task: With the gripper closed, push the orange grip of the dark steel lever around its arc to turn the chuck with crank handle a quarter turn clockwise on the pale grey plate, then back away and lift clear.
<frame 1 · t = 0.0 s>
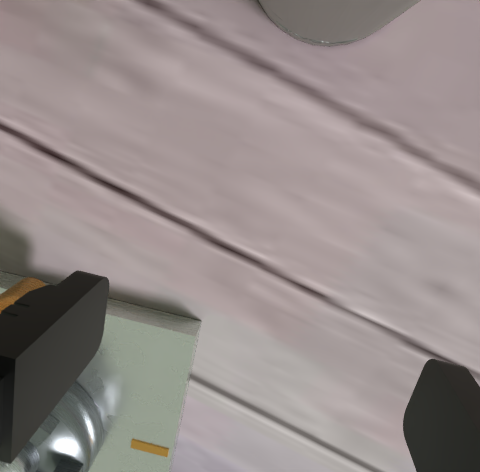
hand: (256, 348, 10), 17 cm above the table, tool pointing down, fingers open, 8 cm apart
base plate: (51, 400, 34), on the table
chuck with crank handle: (3, 421, 27), point 6 cm above the table, hinge at 0.0°
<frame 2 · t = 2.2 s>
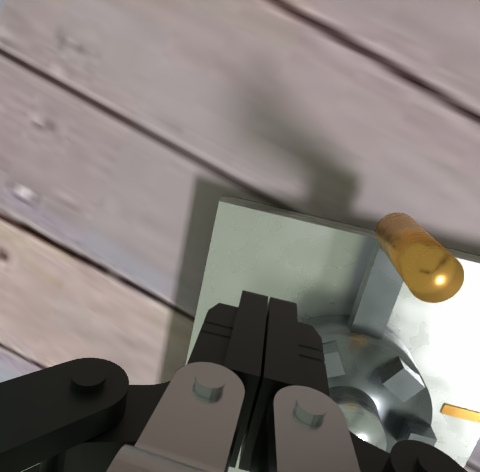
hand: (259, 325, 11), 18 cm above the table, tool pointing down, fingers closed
base plate: (333, 364, 32), on the table
chuck with crank handle: (363, 373, 24), point 6 cm above the table, hinge at 0.0°
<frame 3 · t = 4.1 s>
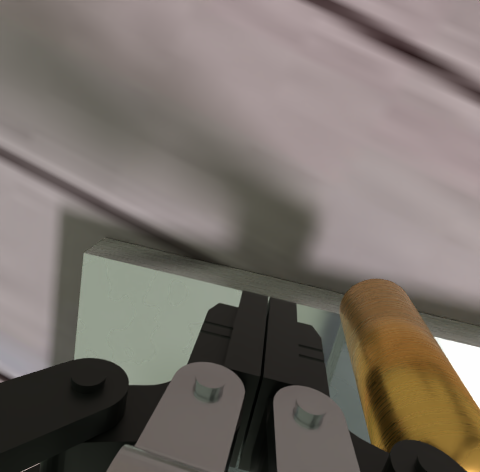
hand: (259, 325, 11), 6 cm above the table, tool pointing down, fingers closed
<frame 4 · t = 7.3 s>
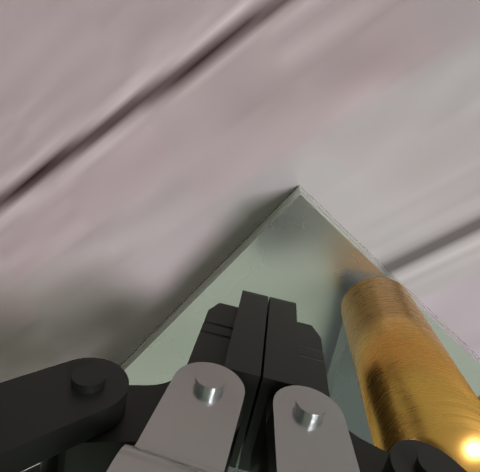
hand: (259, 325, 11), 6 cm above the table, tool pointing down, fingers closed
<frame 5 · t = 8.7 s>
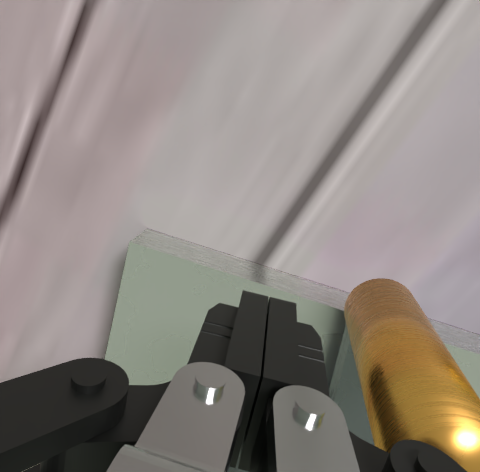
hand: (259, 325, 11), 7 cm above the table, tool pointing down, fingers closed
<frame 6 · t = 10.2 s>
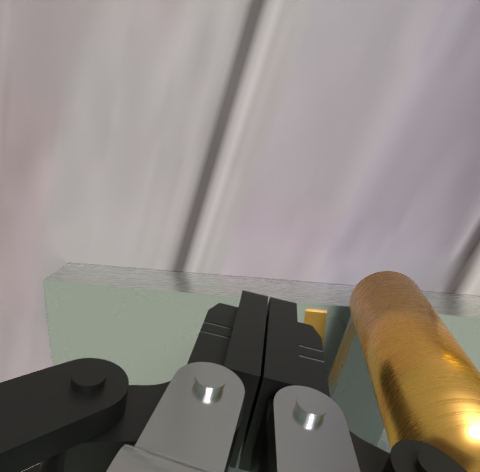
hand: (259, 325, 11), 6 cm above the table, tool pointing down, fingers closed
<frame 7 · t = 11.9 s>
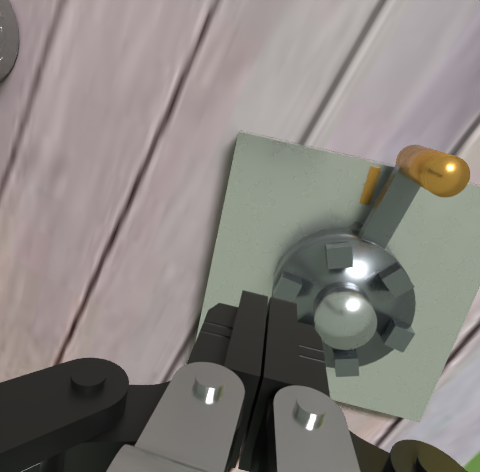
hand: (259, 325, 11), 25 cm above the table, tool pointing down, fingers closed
base plate: (334, 280, 37), on the table
chuck with crank handle: (367, 270, 30), point 6 cm above the table, hinge at -100.4°
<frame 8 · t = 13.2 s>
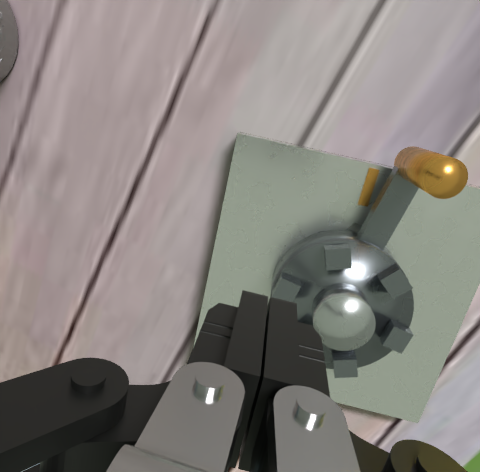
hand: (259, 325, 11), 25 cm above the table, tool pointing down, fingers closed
base plate: (332, 281, 37), on the table
chuck with crank handle: (365, 271, 30), point 6 cm above the table, hinge at -100.4°
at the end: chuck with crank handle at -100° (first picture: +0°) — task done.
